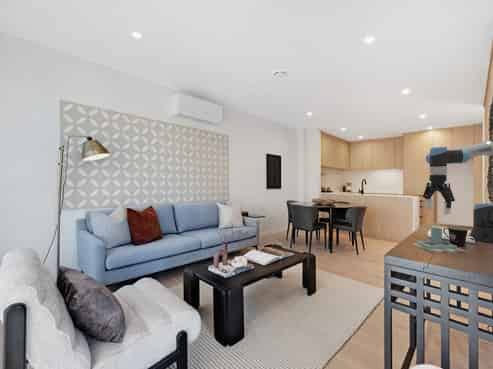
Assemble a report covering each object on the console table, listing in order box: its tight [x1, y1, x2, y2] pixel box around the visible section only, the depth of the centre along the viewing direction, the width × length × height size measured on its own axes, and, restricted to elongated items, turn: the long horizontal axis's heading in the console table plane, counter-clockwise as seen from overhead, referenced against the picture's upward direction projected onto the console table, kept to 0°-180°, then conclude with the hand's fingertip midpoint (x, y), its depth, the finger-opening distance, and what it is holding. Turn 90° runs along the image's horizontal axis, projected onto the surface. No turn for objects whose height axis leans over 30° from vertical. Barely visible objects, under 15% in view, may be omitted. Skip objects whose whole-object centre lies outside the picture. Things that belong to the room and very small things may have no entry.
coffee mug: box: [442, 226, 469, 248], centre depth 142 cm, size 12×9×10 cm
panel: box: [416, 226, 458, 249], centre depth 136 cm, size 15×10×10 cm, turn 89°
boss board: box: [412, 240, 465, 254], centre depth 135 cm, size 18×14×4 cm
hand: (437, 212), depth 135 cm, fingers open, 13 cm apart
